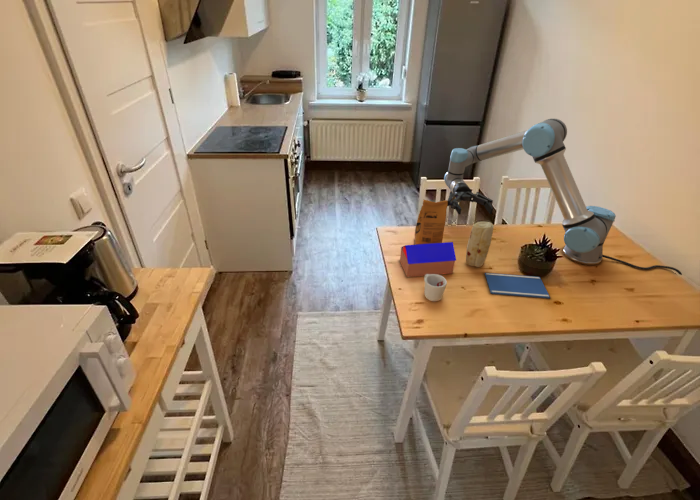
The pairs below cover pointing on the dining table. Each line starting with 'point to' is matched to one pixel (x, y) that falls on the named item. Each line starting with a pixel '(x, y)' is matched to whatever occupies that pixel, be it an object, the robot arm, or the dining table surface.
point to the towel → (516, 285)
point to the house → (428, 259)
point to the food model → (479, 243)
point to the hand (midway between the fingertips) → (475, 211)
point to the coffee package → (431, 222)
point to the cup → (434, 286)
